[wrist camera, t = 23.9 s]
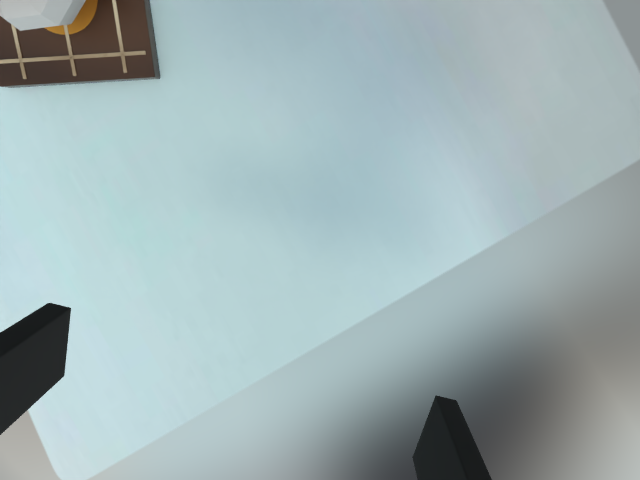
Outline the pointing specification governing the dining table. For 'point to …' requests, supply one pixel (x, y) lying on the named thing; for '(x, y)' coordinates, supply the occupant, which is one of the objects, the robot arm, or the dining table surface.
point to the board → (82, 47)
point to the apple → (39, 12)
